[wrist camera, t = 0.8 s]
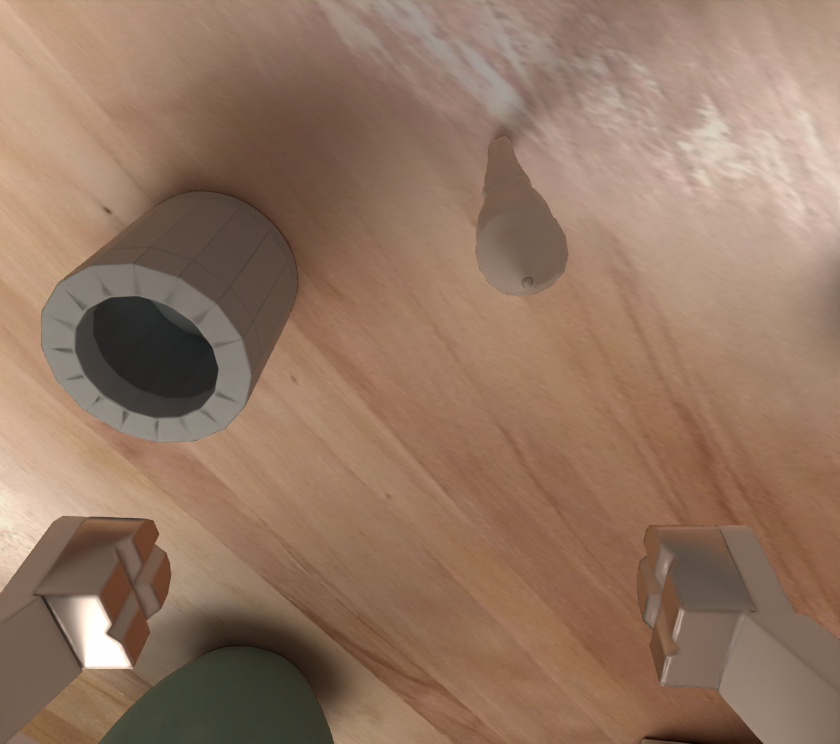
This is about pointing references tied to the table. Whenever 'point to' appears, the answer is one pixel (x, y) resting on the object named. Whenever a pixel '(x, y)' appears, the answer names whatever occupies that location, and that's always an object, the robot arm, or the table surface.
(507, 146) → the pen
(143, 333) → the grey faceted canister
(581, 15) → the table surface
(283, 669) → the green bowl
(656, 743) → the book stack
